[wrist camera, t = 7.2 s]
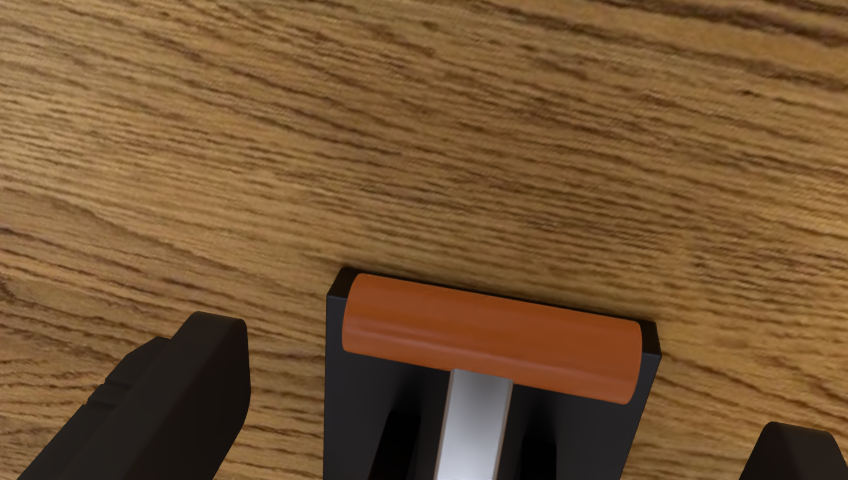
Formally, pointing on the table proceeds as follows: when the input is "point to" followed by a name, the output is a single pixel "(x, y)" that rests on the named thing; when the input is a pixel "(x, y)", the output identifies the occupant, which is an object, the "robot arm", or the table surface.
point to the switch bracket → (425, 402)
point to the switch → (489, 357)
